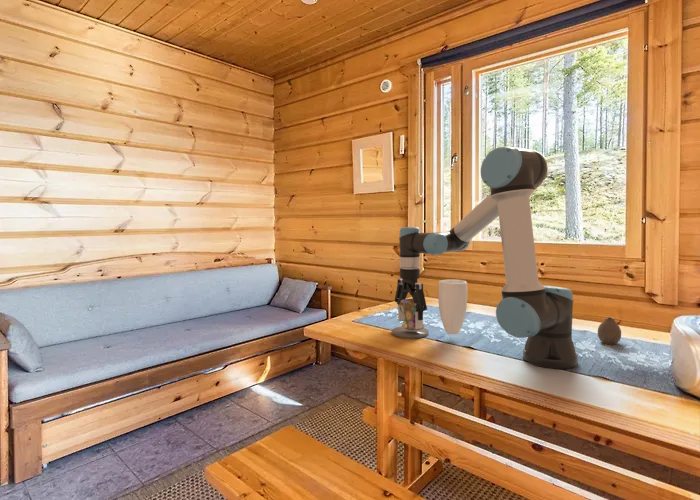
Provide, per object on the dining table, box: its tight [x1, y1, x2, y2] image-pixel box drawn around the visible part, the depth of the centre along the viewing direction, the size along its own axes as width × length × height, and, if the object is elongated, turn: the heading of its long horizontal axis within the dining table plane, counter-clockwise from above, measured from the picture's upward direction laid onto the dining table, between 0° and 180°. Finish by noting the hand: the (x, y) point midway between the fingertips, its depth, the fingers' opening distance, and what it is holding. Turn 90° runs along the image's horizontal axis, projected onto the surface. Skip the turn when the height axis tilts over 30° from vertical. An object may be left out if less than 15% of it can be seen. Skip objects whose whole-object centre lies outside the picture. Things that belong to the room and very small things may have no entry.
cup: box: [437, 278, 468, 335], centre depth 146 cm, size 10×10×22 cm
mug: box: [399, 298, 425, 330], centre depth 155 cm, size 12×9×11 cm
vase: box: [597, 317, 622, 346], centre depth 140 cm, size 7×7×9 cm
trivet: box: [391, 325, 429, 340], centre depth 156 cm, size 14×14×1 cm
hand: (410, 324), depth 156 cm, fingers closed on mug, 11 cm apart
